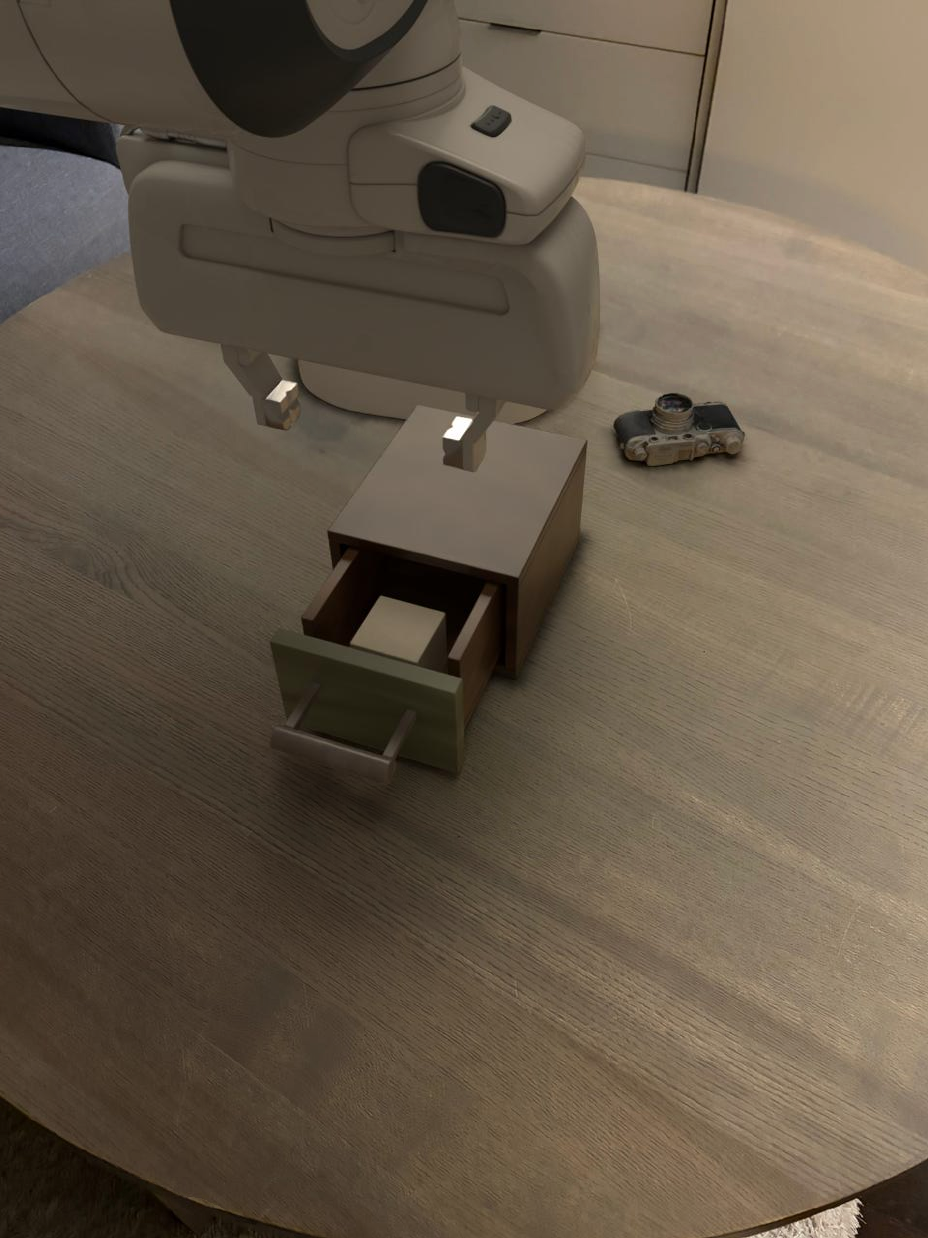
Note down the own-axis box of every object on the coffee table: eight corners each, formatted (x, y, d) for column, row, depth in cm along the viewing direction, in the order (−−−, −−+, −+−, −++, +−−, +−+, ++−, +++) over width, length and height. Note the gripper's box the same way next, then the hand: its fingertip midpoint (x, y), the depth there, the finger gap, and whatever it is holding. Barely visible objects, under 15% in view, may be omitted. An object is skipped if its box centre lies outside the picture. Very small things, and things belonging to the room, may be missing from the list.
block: (420, 711, 64) (417, 662, 61) (355, 691, 65) (349, 643, 62) (447, 661, 67) (446, 612, 63) (385, 643, 68) (380, 594, 65)
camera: (749, 457, 84) (758, 414, 81) (623, 470, 83) (628, 426, 80) (729, 421, 88) (738, 378, 85) (608, 432, 87) (613, 390, 84)
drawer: (426, 841, 59) (420, 762, 53) (247, 783, 62) (225, 703, 56) (529, 620, 71) (533, 539, 65) (375, 580, 74) (367, 499, 68)
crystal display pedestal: (551, 441, 86) (561, 256, 75) (269, 399, 91) (238, 219, 79) (602, 294, 103) (617, 125, 91) (362, 266, 108) (348, 101, 96)
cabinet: (515, 679, 68) (519, 578, 62) (341, 631, 71) (326, 530, 65) (579, 540, 78) (587, 439, 71) (422, 503, 81) (416, 404, 74)
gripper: (60, 129, 40) (141, 434, 49) (581, 206, 34) (557, 529, 44) (151, 76, 44) (209, 367, 53) (628, 138, 39) (596, 447, 48)
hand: (370, 441), depth 49 cm, fingers open, 8 cm apart
